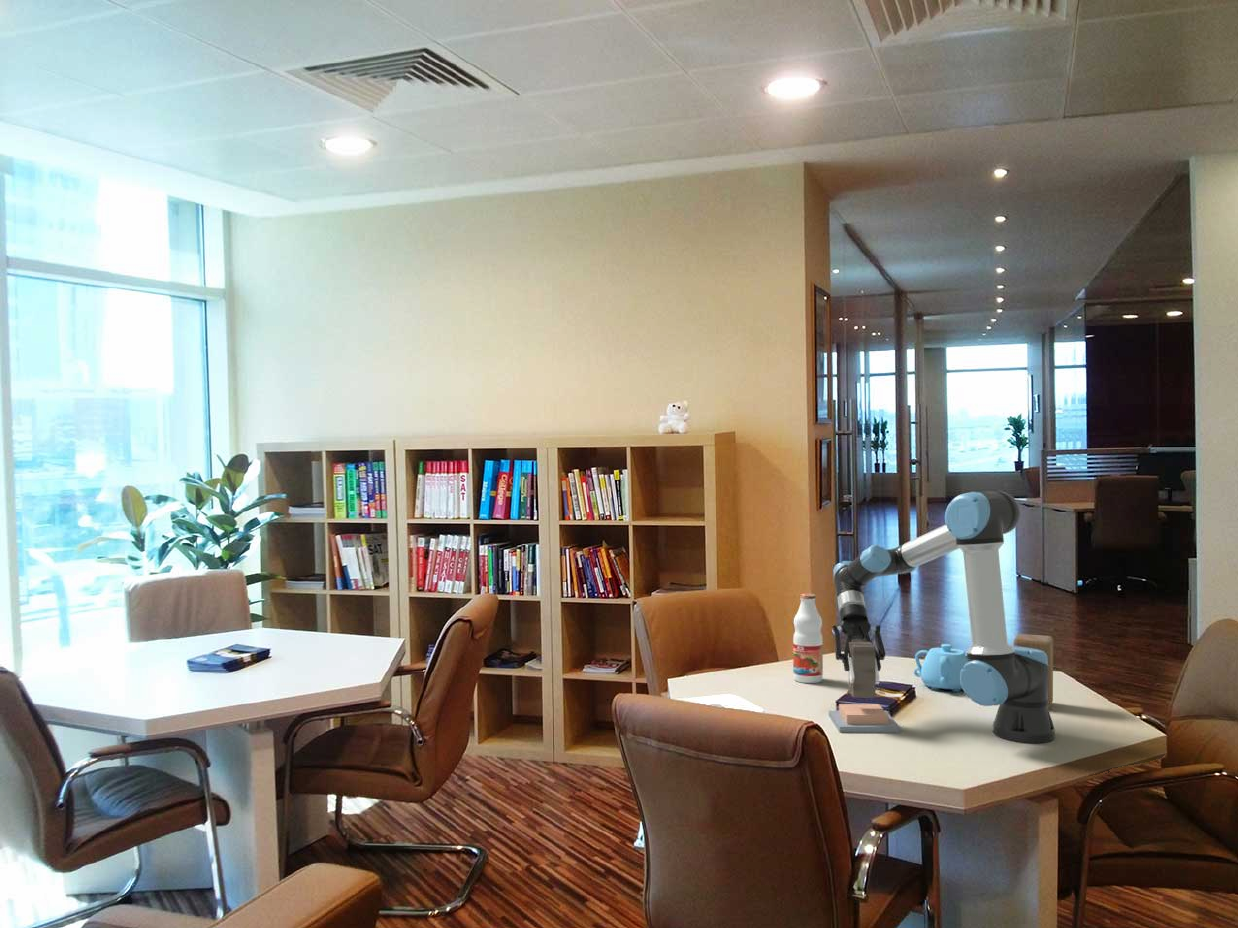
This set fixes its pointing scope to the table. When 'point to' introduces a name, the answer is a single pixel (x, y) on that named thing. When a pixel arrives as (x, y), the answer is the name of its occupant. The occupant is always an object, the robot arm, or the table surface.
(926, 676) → the decorative pot
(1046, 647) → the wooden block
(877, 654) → the robot arm
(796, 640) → the fruit juice
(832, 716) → the plinth
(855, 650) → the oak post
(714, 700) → the computer
